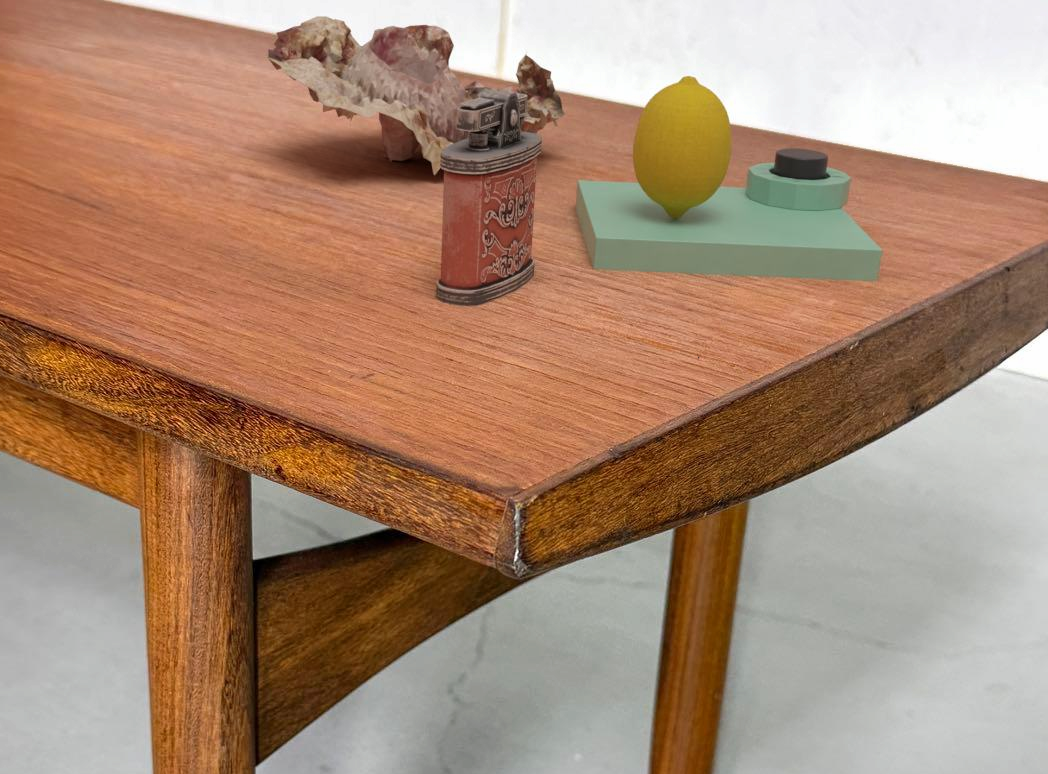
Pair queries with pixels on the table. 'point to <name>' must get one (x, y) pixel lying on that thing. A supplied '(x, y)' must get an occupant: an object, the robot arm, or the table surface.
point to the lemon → (682, 146)
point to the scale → (731, 230)
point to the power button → (800, 164)
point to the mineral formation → (399, 83)
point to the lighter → (488, 202)
